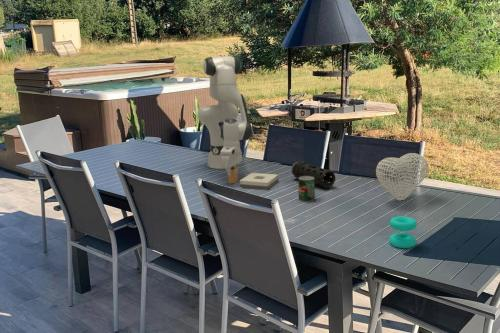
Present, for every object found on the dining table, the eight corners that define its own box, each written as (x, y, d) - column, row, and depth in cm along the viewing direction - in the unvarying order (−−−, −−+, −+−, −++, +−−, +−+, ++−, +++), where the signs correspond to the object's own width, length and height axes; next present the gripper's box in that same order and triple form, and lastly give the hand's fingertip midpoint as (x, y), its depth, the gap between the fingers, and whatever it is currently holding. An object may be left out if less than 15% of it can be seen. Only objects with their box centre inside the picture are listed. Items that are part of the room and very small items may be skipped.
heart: (392, 210, 239) (394, 163, 233) (368, 202, 252) (369, 157, 246) (433, 199, 253) (436, 154, 248) (408, 191, 266) (410, 149, 261)
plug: (231, 181, 296) (230, 164, 293) (237, 181, 294) (237, 165, 292) (228, 183, 292) (227, 166, 290) (234, 183, 291) (234, 167, 288)
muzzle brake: (321, 191, 272) (321, 172, 270) (290, 179, 295) (289, 162, 293) (335, 188, 277) (336, 169, 274) (303, 177, 300) (303, 159, 298)
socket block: (251, 179, 298) (251, 172, 297) (278, 181, 292) (278, 174, 291) (240, 187, 283) (239, 180, 282) (267, 190, 277) (267, 182, 276)
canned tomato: (317, 198, 260) (317, 176, 258) (310, 202, 254) (310, 180, 251) (302, 196, 264) (302, 175, 262) (295, 200, 258) (295, 178, 255)
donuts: (418, 216, 201) (416, 225, 192) (417, 240, 203) (415, 250, 194) (391, 214, 204) (388, 222, 195) (390, 238, 207) (387, 247, 198)
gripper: (234, 144, 299) (235, 168, 302) (218, 152, 281) (220, 177, 284) (244, 145, 297) (245, 169, 300) (229, 152, 278) (230, 177, 281)
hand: (233, 173), depth 292 cm, fingers open, 8 cm apart
